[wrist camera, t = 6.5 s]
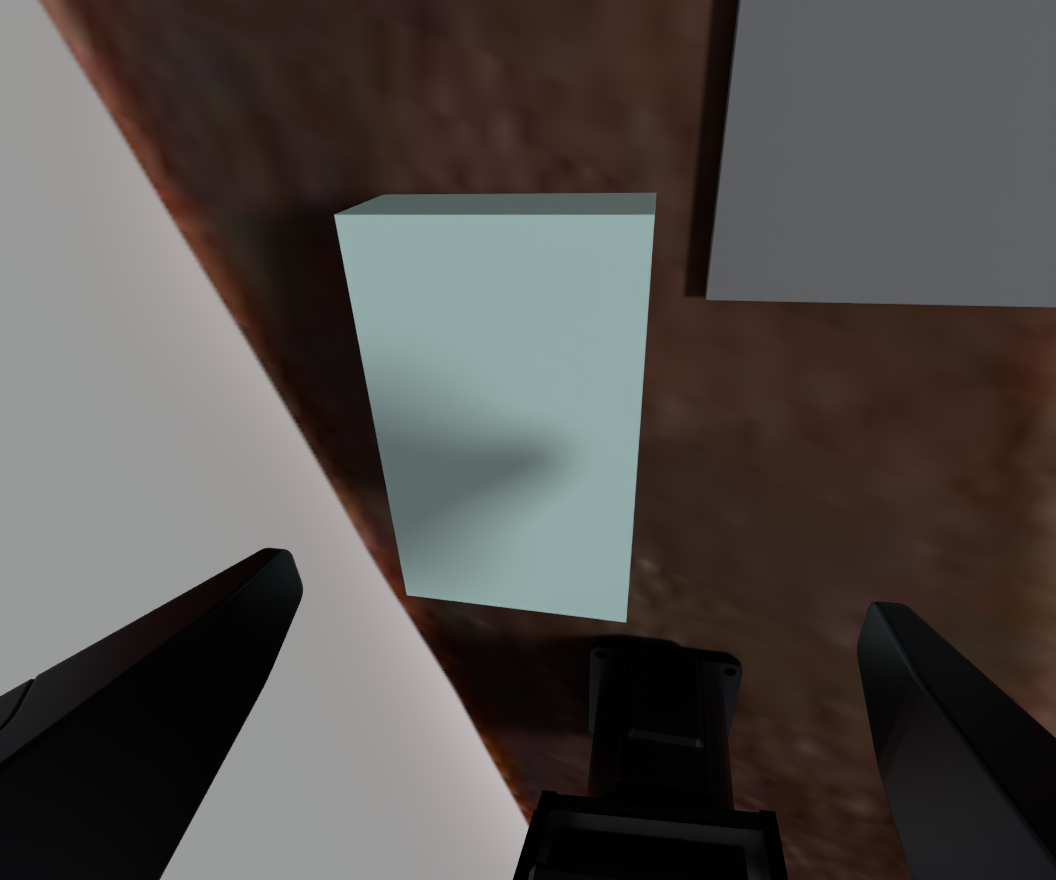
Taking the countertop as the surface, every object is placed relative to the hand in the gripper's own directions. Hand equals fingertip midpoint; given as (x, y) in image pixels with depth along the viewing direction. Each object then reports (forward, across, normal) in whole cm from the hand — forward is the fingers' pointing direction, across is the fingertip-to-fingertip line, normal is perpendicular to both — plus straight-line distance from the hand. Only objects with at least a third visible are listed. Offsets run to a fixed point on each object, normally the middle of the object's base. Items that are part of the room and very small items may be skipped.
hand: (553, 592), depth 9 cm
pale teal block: (+8, +2, +1) cm, 8 cm away
